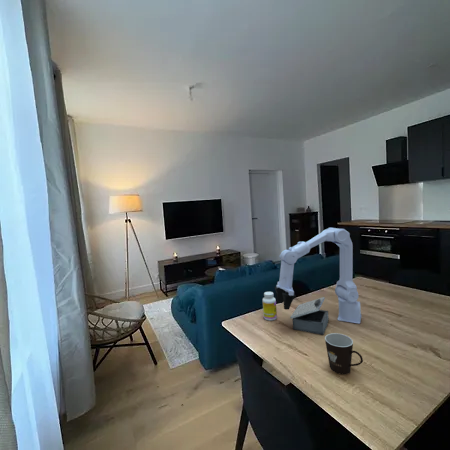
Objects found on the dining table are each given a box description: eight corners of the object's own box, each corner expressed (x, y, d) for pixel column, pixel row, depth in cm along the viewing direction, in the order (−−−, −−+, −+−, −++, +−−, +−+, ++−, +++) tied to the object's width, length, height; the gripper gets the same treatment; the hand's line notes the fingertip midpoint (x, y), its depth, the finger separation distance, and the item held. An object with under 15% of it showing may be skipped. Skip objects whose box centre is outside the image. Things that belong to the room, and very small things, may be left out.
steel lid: (324, 298, 117) (323, 294, 117) (318, 310, 105) (316, 306, 105) (299, 306, 124) (297, 303, 124) (290, 318, 111) (288, 315, 112)
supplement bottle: (277, 321, 121) (275, 295, 120) (263, 320, 122) (261, 295, 121) (276, 315, 127) (275, 290, 126) (263, 315, 129) (262, 290, 128)
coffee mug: (321, 362, 88) (320, 334, 87) (344, 359, 88) (343, 332, 88) (339, 385, 76) (338, 353, 75) (366, 381, 77) (364, 350, 76)
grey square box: (328, 321, 117) (328, 310, 117) (323, 335, 105) (322, 323, 105) (300, 316, 124) (300, 306, 123) (292, 329, 112) (292, 318, 111)
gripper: (272, 272, 119) (269, 299, 119) (284, 280, 104) (280, 312, 105) (286, 272, 120) (283, 300, 120) (299, 281, 105) (296, 312, 106)
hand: (283, 305), depth 113 cm, fingers open, 7 cm apart
